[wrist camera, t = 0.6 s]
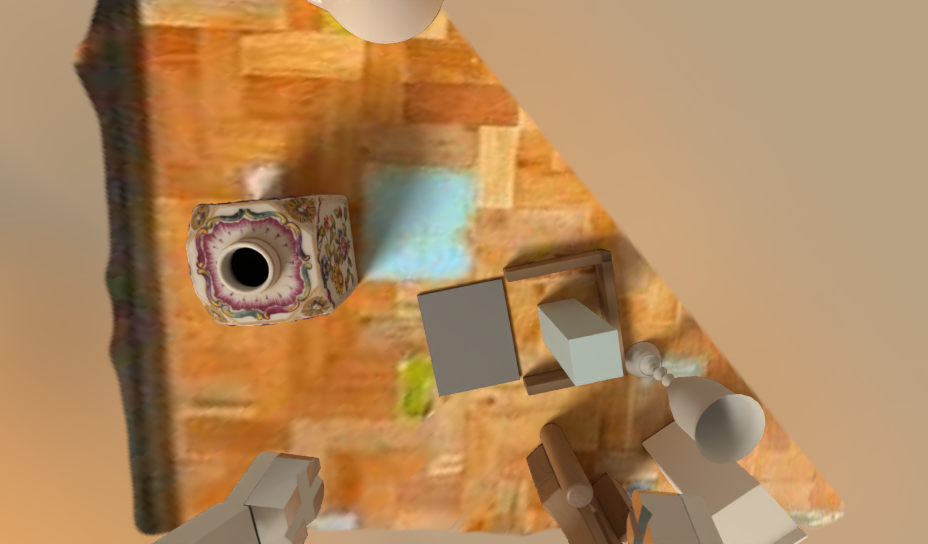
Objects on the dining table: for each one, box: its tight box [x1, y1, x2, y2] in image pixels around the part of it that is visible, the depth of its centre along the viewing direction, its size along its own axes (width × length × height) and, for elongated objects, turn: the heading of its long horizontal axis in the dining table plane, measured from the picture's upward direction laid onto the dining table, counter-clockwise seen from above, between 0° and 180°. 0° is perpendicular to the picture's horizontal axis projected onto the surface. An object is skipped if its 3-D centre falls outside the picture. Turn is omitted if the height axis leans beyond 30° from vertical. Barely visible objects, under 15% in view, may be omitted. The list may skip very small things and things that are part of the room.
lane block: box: [537, 298, 623, 386], centre depth 50 cm, size 5×5×14 cm
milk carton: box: [642, 421, 807, 544], centre depth 52 cm, size 7×7×19 cm
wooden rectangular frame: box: [503, 249, 627, 395], centre depth 56 cm, size 16×13×3 cm
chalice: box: [625, 342, 765, 464], centre depth 50 cm, size 7×7×18 cm
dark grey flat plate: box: [417, 279, 520, 397], centre depth 57 cm, size 14×11×1 cm
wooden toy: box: [526, 424, 633, 544], centre depth 49 cm, size 16×7×25 cm, turn 46°
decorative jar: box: [186, 194, 358, 326], centre depth 45 cm, size 12×12×18 cm
